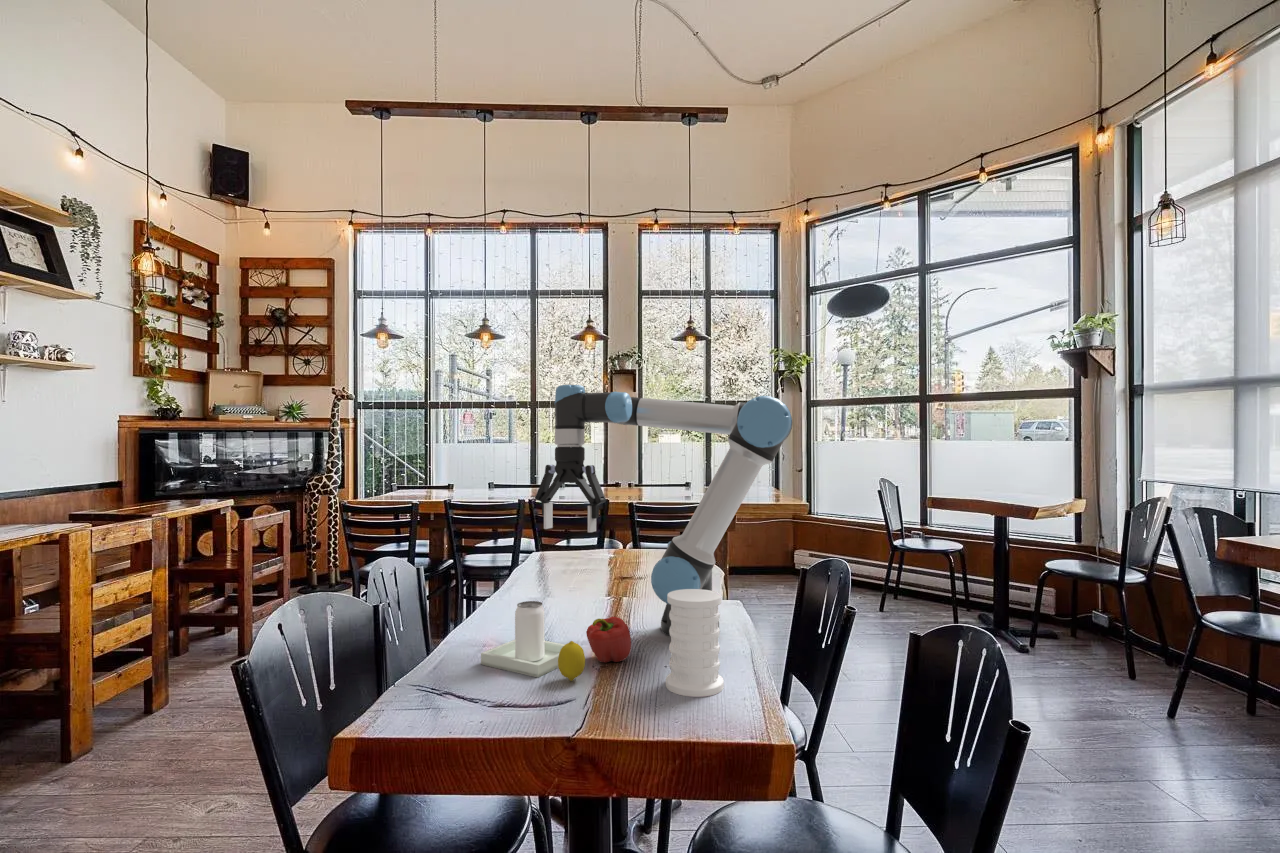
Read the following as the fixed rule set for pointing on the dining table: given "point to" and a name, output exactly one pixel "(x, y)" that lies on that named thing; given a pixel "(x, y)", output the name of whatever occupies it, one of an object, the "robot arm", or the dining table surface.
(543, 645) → the can
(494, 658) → the dish
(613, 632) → the vegetable
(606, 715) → the dining table surface
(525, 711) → the dining table surface
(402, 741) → the dining table surface
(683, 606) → the decorative container
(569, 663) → the lemon
